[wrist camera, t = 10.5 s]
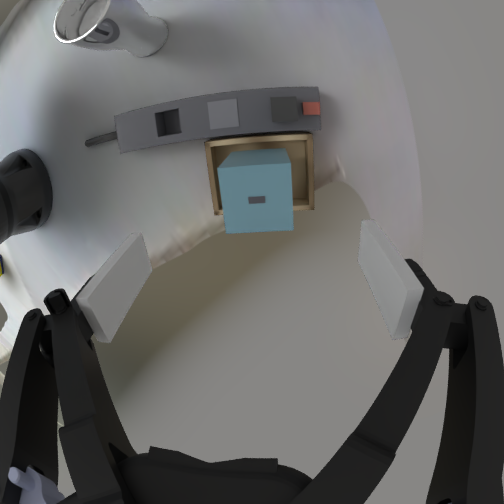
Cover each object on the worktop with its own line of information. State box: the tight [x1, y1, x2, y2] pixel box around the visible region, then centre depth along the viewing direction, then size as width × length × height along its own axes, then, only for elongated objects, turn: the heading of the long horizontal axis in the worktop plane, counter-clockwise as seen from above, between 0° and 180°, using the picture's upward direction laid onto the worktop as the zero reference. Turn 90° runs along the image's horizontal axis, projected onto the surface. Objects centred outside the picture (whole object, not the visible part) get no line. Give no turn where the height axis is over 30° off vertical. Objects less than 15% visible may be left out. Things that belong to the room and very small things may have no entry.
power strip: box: [85, 87, 321, 154], centre depth 28 cm, size 32×5×6 cm, turn 95°
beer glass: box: [53, 0, 168, 57], centre depth 19 cm, size 7×7×15 cm
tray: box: [204, 132, 314, 215], centre depth 32 cm, size 12×9×4 cm
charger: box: [217, 148, 294, 234], centre depth 28 cm, size 6×6×12 cm
